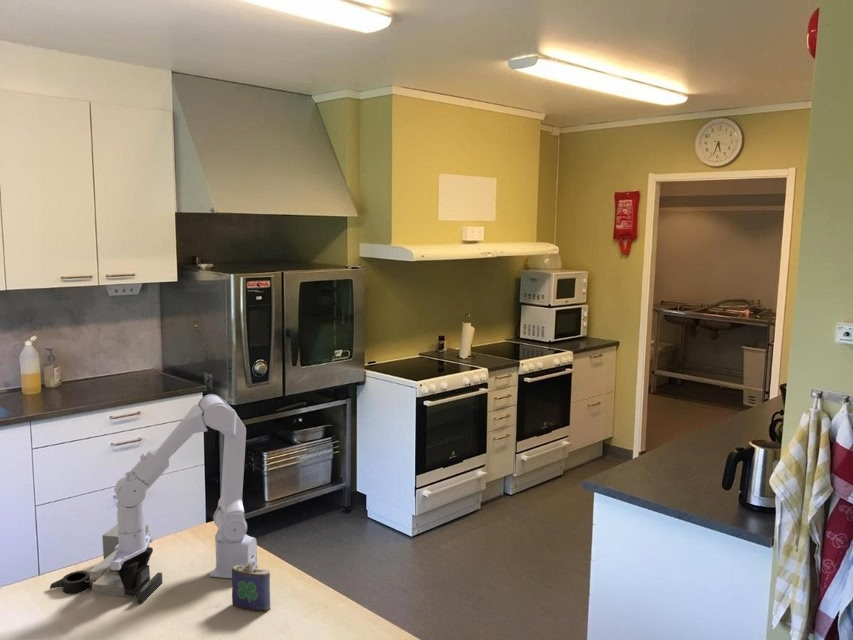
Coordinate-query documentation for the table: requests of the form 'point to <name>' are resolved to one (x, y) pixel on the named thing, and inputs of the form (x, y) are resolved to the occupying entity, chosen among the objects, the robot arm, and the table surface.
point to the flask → (250, 588)
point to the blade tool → (141, 590)
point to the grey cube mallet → (108, 551)
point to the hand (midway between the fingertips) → (134, 584)
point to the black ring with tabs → (74, 582)
